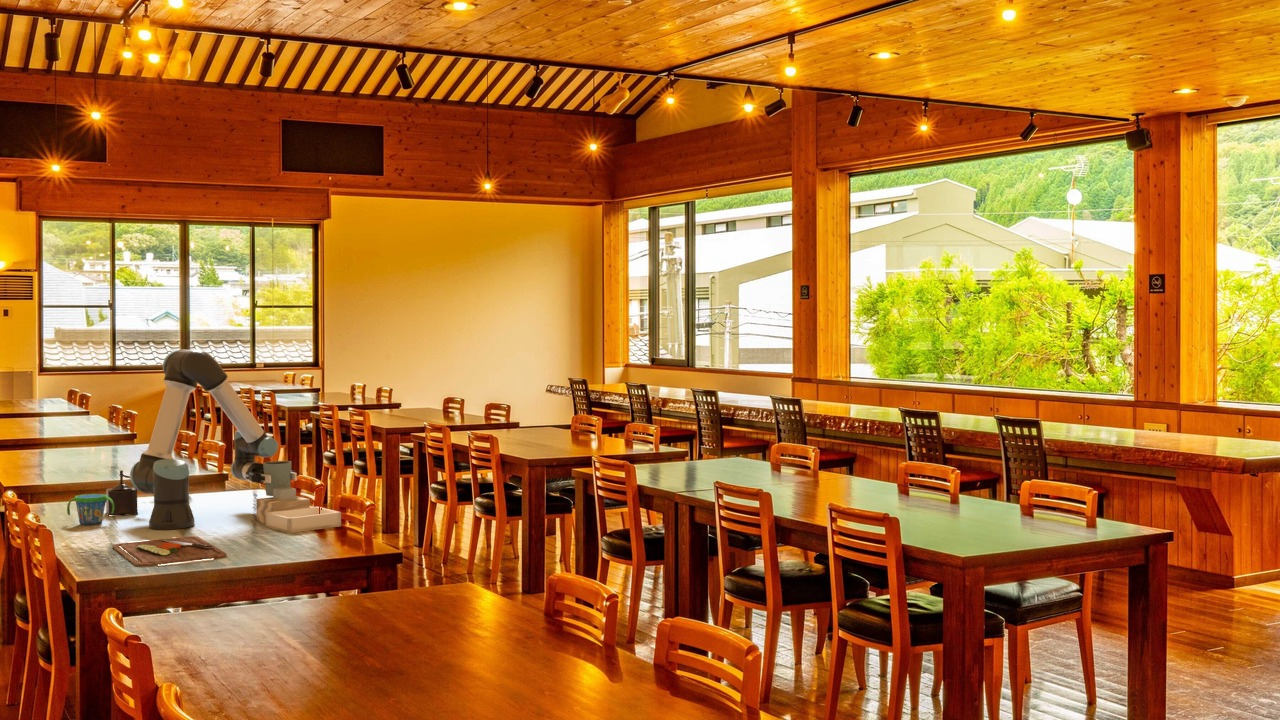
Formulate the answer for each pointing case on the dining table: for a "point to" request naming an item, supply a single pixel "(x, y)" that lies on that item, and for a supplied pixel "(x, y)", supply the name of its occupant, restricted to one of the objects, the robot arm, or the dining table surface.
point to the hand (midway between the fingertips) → (283, 478)
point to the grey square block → (284, 494)
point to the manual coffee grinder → (122, 498)
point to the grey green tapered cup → (277, 475)
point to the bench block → (278, 506)
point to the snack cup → (90, 508)
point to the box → (303, 519)
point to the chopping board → (169, 551)
